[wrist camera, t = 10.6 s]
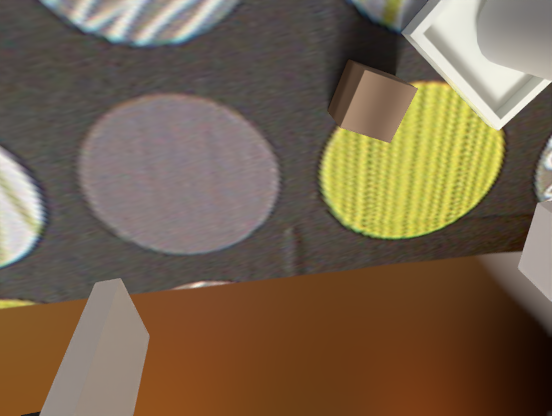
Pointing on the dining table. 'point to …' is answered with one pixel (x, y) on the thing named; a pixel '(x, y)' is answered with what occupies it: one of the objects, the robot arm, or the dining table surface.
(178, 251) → the dining table surface
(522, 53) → the can
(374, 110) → the walnut block
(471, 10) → the tray
